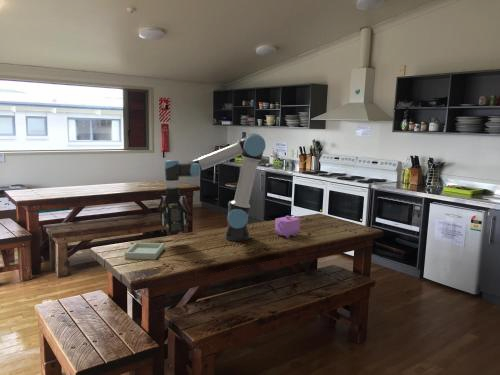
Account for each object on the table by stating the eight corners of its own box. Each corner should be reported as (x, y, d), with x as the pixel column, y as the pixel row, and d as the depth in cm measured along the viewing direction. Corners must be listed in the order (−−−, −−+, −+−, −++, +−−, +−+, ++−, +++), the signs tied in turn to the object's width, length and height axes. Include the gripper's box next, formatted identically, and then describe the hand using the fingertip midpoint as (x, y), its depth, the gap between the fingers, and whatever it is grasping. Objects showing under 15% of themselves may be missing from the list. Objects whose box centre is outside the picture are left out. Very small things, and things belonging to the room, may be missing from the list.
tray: (164, 248, 237) (163, 243, 237) (155, 259, 219) (155, 253, 219) (135, 247, 238) (135, 242, 237) (124, 258, 220) (124, 252, 220)
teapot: (283, 239, 259) (284, 219, 257) (272, 235, 267) (272, 216, 265) (305, 234, 272) (306, 215, 270) (294, 230, 280) (294, 212, 277)
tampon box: (164, 228, 249) (163, 204, 246) (180, 227, 252) (179, 202, 250) (168, 233, 239) (167, 207, 236) (184, 231, 242) (183, 206, 240)
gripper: (194, 186, 244) (195, 223, 248) (153, 186, 246) (155, 222, 249) (192, 188, 237) (193, 226, 241) (150, 188, 238) (152, 226, 242)
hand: (174, 224), depth 245 cm, fingers closed on tampon box, 11 cm apart
